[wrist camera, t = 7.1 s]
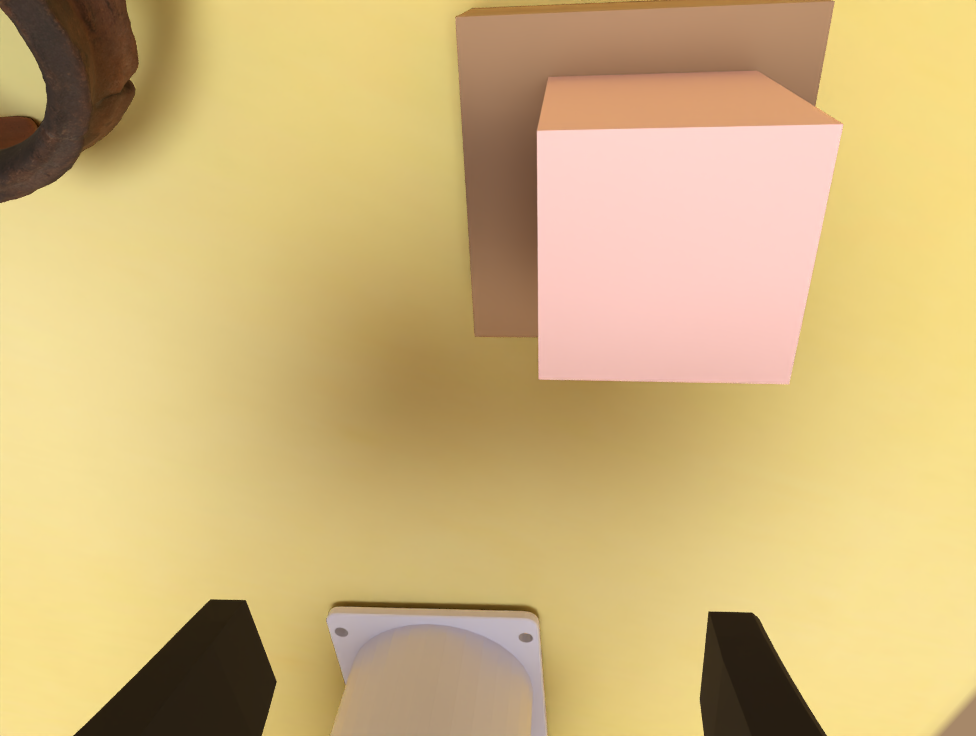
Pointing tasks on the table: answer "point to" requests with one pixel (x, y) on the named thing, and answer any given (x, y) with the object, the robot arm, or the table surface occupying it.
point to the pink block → (677, 225)
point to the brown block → (583, 52)
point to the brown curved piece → (67, 87)
